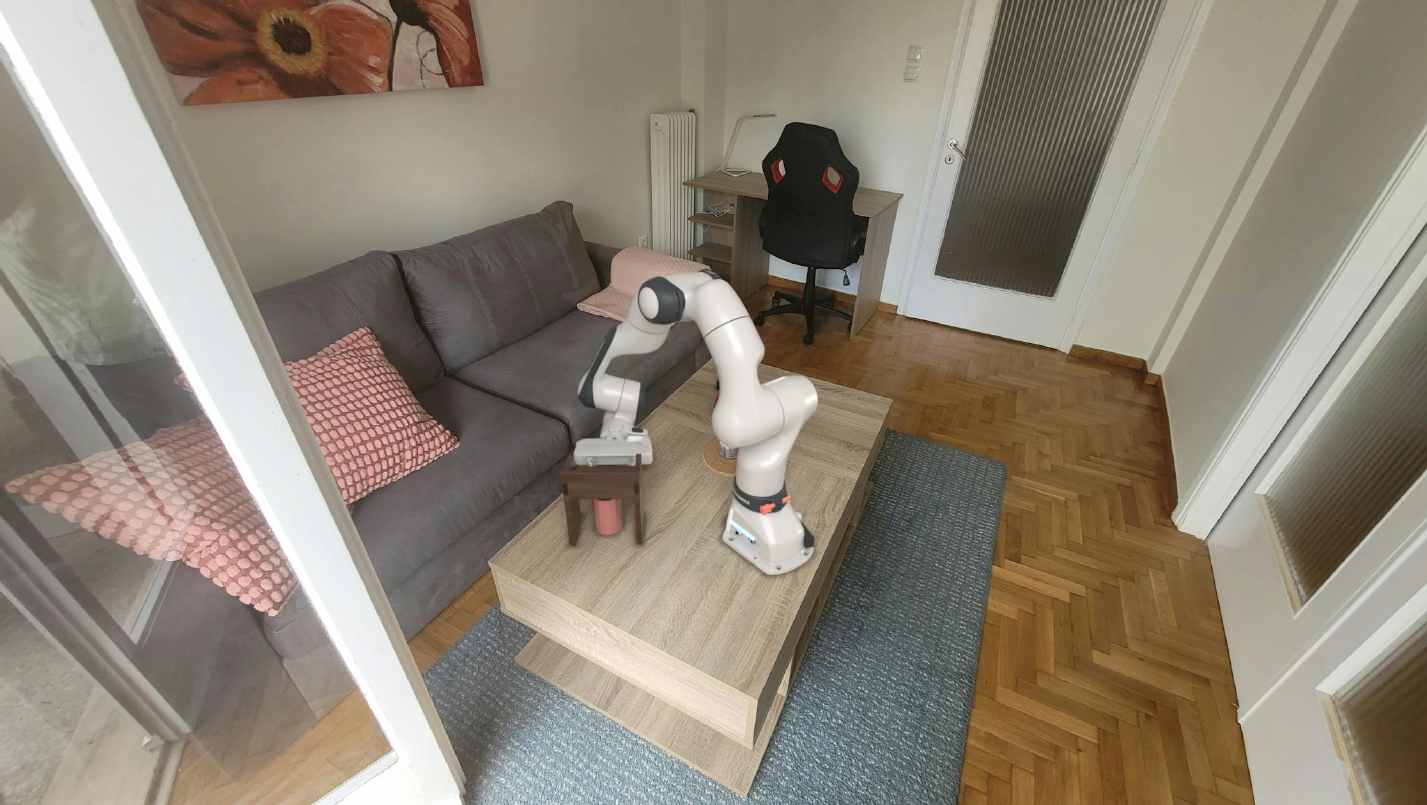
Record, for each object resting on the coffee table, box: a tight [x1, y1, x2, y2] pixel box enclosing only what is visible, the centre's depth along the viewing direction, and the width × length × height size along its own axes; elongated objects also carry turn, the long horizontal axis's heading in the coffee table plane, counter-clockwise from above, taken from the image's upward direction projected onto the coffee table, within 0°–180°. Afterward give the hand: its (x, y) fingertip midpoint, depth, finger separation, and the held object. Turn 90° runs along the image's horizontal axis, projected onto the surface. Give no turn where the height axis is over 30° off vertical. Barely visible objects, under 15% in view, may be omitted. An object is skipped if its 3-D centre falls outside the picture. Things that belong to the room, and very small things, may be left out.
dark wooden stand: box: [559, 453, 645, 547], centre depth 133 cm, size 10×16×21 cm, turn 93°
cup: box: [591, 499, 624, 536], centre depth 137 cm, size 7×7×10 cm
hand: (611, 471), depth 146 cm, fingers open, 8 cm apart
